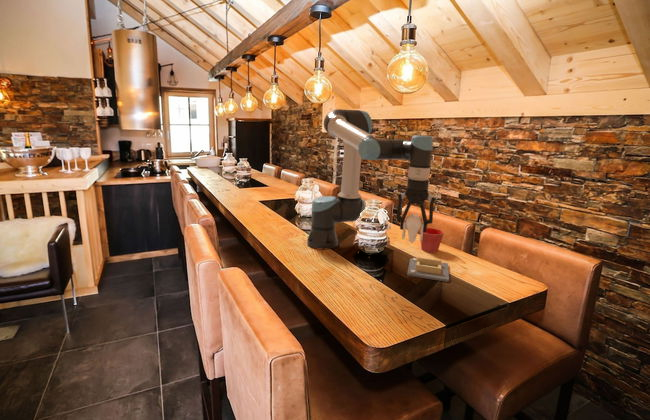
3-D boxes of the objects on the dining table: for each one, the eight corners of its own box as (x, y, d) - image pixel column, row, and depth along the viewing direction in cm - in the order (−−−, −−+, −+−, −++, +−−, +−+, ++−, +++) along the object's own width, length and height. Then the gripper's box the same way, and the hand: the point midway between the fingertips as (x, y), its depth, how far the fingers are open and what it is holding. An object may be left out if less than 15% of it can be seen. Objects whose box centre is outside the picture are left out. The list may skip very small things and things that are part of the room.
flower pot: (442, 254, 168) (444, 235, 166) (418, 252, 170) (420, 232, 168) (440, 247, 178) (442, 228, 176) (417, 245, 180) (419, 226, 178)
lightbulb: (409, 245, 132) (412, 217, 129) (400, 240, 137) (403, 213, 135) (423, 244, 134) (426, 216, 131) (413, 239, 140) (416, 212, 137)
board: (407, 275, 143) (407, 267, 142) (410, 260, 160) (411, 252, 159) (448, 282, 139) (449, 273, 138) (447, 265, 155) (448, 257, 155)
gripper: (390, 177, 129) (385, 238, 135) (445, 182, 124) (437, 245, 129) (393, 175, 136) (388, 233, 142) (445, 179, 130) (438, 239, 136)
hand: (412, 238), depth 135 cm, fingers closed on lightbulb, 6 cm apart
